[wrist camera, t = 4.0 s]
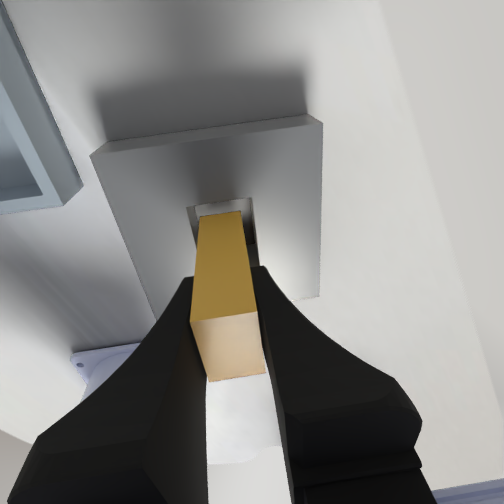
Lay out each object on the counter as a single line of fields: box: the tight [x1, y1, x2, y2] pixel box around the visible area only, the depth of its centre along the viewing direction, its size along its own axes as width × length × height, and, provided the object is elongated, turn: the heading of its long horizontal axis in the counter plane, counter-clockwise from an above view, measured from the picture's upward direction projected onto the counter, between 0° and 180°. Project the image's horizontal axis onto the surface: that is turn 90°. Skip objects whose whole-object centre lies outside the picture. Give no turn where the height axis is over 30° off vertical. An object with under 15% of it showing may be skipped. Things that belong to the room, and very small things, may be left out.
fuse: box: [190, 211, 266, 382], centre depth 12 cm, size 3×2×7 cm, turn 7°
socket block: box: [89, 114, 323, 320], centre depth 16 cm, size 10×10×2 cm
